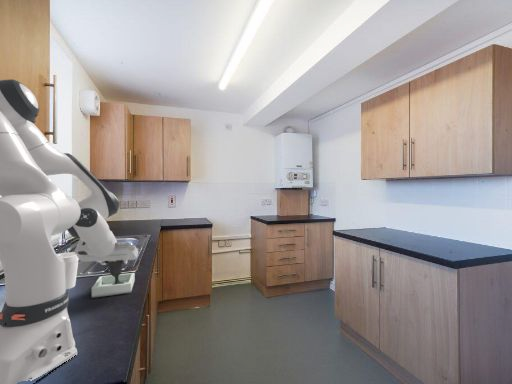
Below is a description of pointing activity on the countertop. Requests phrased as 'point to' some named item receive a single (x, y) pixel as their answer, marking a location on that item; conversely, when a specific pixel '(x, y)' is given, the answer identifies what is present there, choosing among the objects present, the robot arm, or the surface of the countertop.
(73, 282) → the foam cup
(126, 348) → the countertop surface
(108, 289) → the bin
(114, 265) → the sundae
